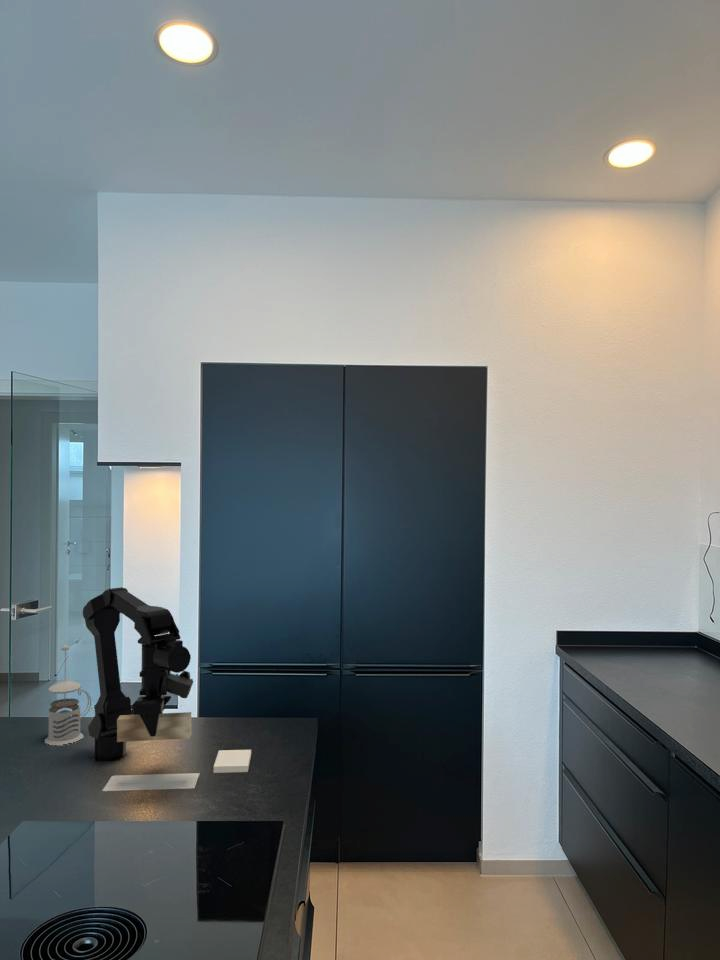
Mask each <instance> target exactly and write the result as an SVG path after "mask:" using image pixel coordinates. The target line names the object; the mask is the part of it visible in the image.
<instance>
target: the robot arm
mask: <svg viewBox="0 0 720 960" xmlns="http://www.w3.org/2000/svg"><path fill="white" fill-rule="evenodd" d="M85 604H86V605H84V606H83V609H82V617H83V619H84V622H85V623H84V624H85V626H86V629H87V630H88V631H89V632H90V633H91V634H92V636H93V638H94V646H95V647H94V649H95V655H96V656H95V657H96V666H97V674H98V683H99V685H98V686H99V692H100V694H99V695H100V696H99V698H98V700H97V701H96V704H95V706H94V717H93V719H92V720H91V721H90V723H89V724H88V726H87V729H88V731H87V732H88V735H89V736H90V737H92V738H94V758H93V759H92V763H93V762H96V763H97V762H118V761H119V762H120V761H121V759H122V758H124V756H125V755H126V753H127V750H126V749H127V744H126V743H127V741H126V742H117V719H118V718H119V716H120V715H140V716H141V718H142V720H143V722H144V724H145V726H146V728H147V730H148V732H149V734H150V736H151V737H152V736H155V735H156V731H157V725H158V719H159V714H161V713H163V712H164V710H165V709H166V707H167V704H168V703H169V702H170V701H171V699H172V696H171V695H168V693H169V694H172V695H175V696H179V698H182V699H188V698H189V697H188V696H190V695H189V694H190V692H191V691H192V687H193V684H194V679H193V678H191V673H190V672H189V671H187V670H186V669H187V668H188V667H189V665H190V663H191V653H190V651H189V649H188V648H187V647H185V646H184V645H183V644H184V643H183V640H180V639H181V636H180V630H179V628H178V626H177V624H176V622H175V619H174V616H173V615H172V613H171V611H170V610H169V609H167V608H165V607H162V606H158V605H157V606H155V605H149V604H148V603H146V602H144V601H143V600H141V599H139V597H137V596H135V595H133V594H132V593H131V592H129V591H128V589H127V588H126V587H113V588H112V587H111V588H107V589H105V590H104V591H103V593H101V594H99V595H98V596H97V595H96V597H93V598H92V599H90V600H89V601H87V603H85ZM120 614H122V615H124V616H125V617H127V618H128V619H129V620H131V621H132V622H133V623H134V624H133V625H134V627H133V629H134V630H135V631H136V632H137V633H138V634H139V636H140V638H138V640H137V643H138V644H140V645H141V670H140V671H139V678H141V688H140V690H139V697H137V699H136V700H135V701H134V702H133V704H131V703H132V702H131V700H132V699H131V698H130V696H126V694H124V693H123V691H122V687H121V678H120V669H119V662H118V651H117V643H116V631H117V628H118V626H119V624H120V620H121V616H120ZM171 672H173V673H171ZM174 673H175V674H174ZM179 673H180V674H179Z"/></svg>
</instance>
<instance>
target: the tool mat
mask: <svg viewBox="0 0 720 960" xmlns="http://www.w3.org/2000/svg"><path fill="white" fill-rule="evenodd" d="M199 777H200V772H198V773H197V772H195V773H193V772H192V773H191V772H190V773H162V774H161V773H157V774H156V773H155V774H128V775H127V774H126V775H125V774H124V775H122V774H121V775H112V776H111V777H110V778H109V780H108V781H107V783H106V784H105V786H104V787H103V788H102V791H101V792H116V791H117V792H118V791H119V792H120V791H125V792H126V791H151V790H181V789H182V790H183V789H184V790H185V789H190V790H191V789H195V787H196V785H197V782H198V779H199Z"/></svg>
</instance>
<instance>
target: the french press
mask: <svg viewBox="0 0 720 960" xmlns="http://www.w3.org/2000/svg"><path fill="white" fill-rule="evenodd" d="M69 650H70V647H69V645H66V644H64V645H63V646H61V651H64V678H66V675H67V674H66V672H67V671H66V670H67V669H66V663H67V661H66V660H67V657H66V656H67V651H69ZM76 691H77V694H78V696H81V695H82V692H83V693H85V694H86V696H87V697H86V698H87V704H86V705H87V706H86V708H85V710H84V711H83V712H82V713H81V707H80V705H79V703H80V701H79V699H77V698H72V697H69V698H66V694H69V693H74V692H76ZM48 692H49V693H51V694H64V696H63V697H64V698H59V699H55V700H53V701H51V702H50V704H49V705H50V708H49V709H48V735H47V737H46V738H45V739H44V740H43V741H45V742H44V744H46V743H47V744H46V745H48V744H49V745H48V746H54V745H57V746H64V745H63V744H67V745H69V744H68V743H72V744H74V743H73V742H75V743H77V742H76V741H78V740H80V739H82V738H83V739H84V734H83V733H82V732H81V726H82V725H81V724H82V723H81V720H82V718H83V717H85V716H86V715H87V714H88V713H89V711H90V709H91V705H92V698H91V695H90V693H88V691H86V690H84V689H82V685H81V684H80V683H78V682H77V681H73V680H61V681H59V682H56V683H54V684H52V685H50V687H48ZM63 709H64V710H63ZM65 709H66V710H65ZM67 709H70V710H67ZM59 710H60V711H59ZM58 711H59V712H58ZM67 718H68V719H67ZM83 739H82V740H83ZM80 741H81V740H80ZM78 742H79V741H78Z"/></svg>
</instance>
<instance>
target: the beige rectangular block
mask: <svg viewBox="0 0 720 960" xmlns="http://www.w3.org/2000/svg"><path fill="white" fill-rule="evenodd" d="M191 736H192V711H189V712H187V711H186V712H185V711H184V712H168V713H167V712H166V713H165V712H164V713H161V714H159V719H158V725H157V731H156V735H155V736H152V737H151V736H150V734H149V732H148V730H147V728H146V726H145V724H144V722H143V720H142V718H141V716H140V715H120V716H119V718H118V719H117V742H126V743H127V742H141V741H142V742H144V741H163V740H164V741H165V740H167V741H168V740H180V739H181V740H183V739H185V740H186V739H191Z"/></svg>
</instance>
